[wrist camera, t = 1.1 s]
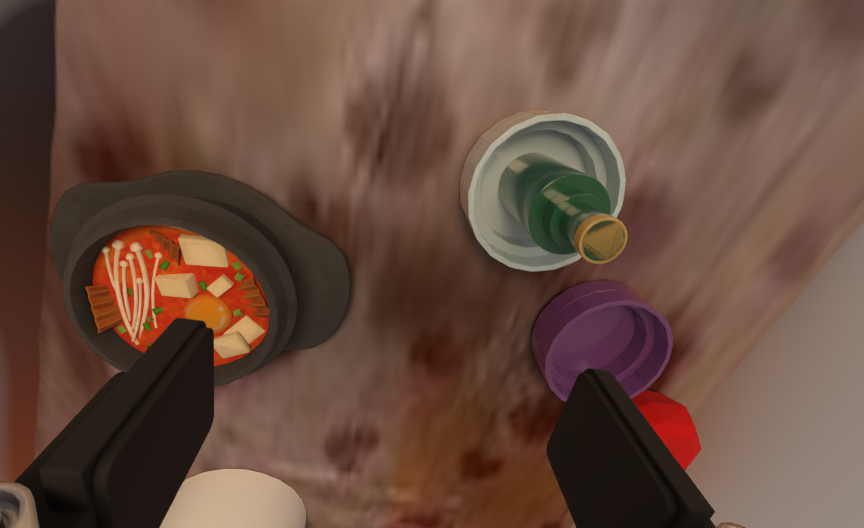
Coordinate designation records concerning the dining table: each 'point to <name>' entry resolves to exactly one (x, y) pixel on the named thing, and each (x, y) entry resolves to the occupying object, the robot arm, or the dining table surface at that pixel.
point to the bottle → (561, 208)
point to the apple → (670, 425)
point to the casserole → (194, 269)
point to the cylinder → (235, 502)
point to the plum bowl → (601, 337)
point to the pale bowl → (518, 136)
